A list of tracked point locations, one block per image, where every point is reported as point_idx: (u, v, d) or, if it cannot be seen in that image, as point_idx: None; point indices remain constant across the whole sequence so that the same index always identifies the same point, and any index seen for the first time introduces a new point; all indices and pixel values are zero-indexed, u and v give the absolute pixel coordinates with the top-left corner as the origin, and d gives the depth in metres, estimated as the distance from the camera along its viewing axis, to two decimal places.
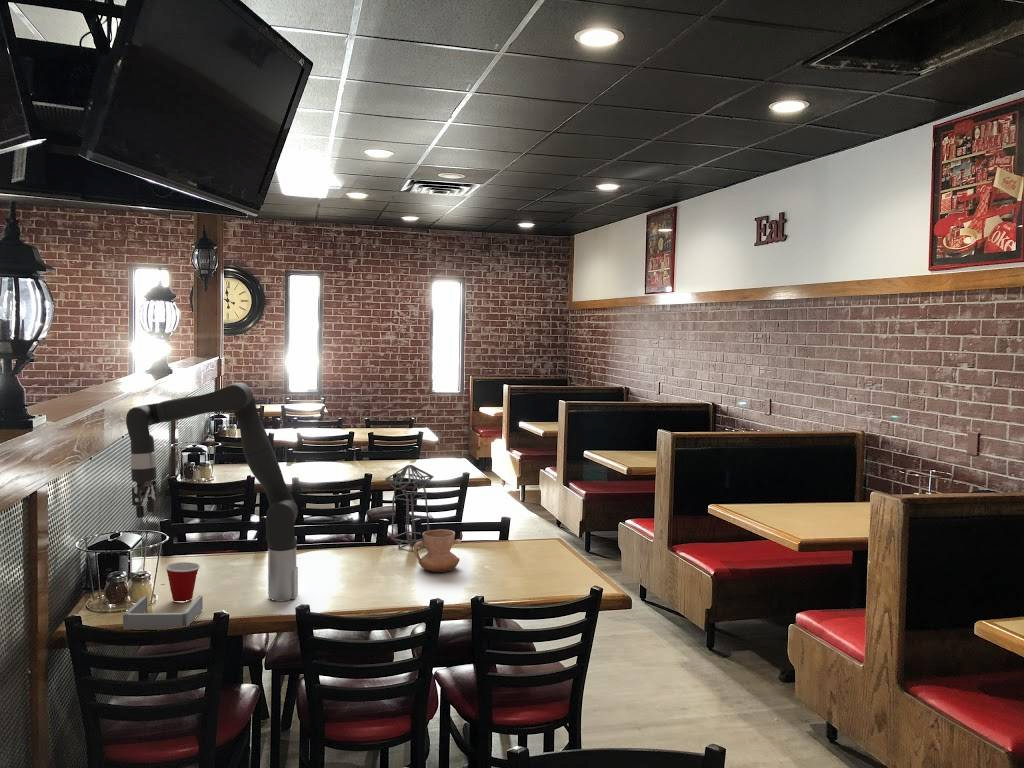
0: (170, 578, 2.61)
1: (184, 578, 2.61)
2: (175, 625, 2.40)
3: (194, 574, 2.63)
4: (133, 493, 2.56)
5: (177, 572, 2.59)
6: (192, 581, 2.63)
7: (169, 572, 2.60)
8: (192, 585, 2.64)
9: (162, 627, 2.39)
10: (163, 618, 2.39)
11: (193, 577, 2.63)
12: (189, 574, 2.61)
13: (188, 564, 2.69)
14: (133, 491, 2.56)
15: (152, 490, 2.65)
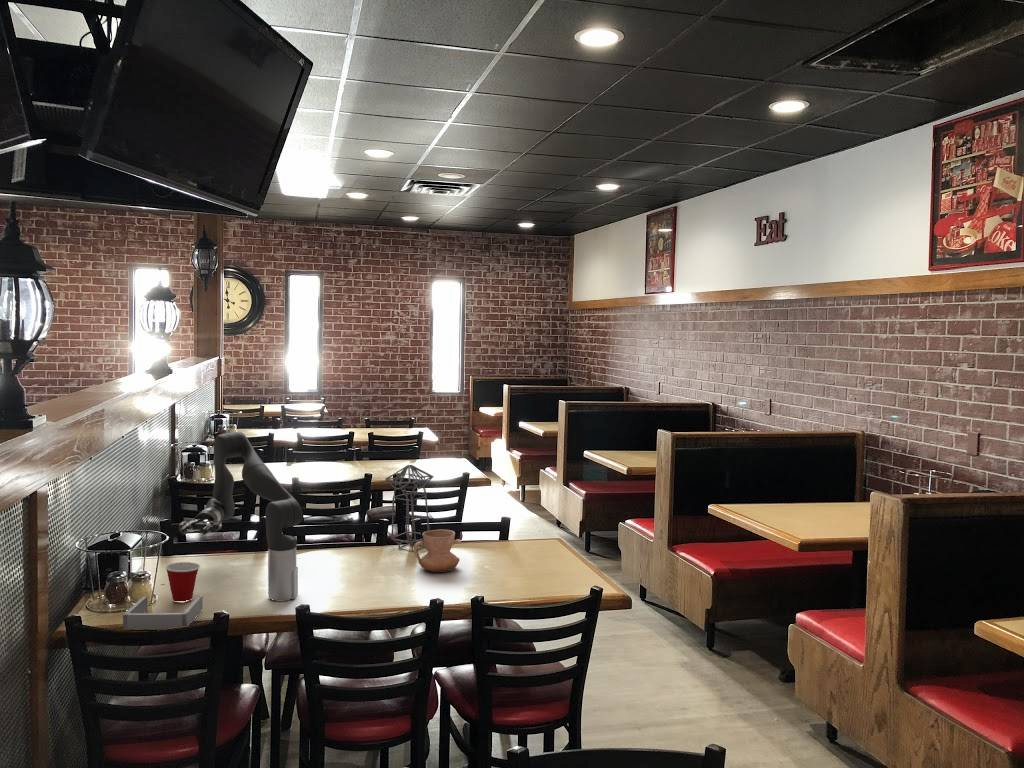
0: (170, 578, 2.61)
1: (184, 578, 2.61)
2: (175, 625, 2.40)
3: (194, 574, 2.63)
4: None
5: (177, 572, 2.59)
6: (192, 581, 2.63)
7: (169, 572, 2.60)
8: (192, 585, 2.64)
9: (162, 627, 2.39)
10: (163, 618, 2.39)
11: (193, 577, 2.63)
12: (189, 574, 2.61)
13: (188, 564, 2.69)
14: None
15: (205, 521, 2.83)
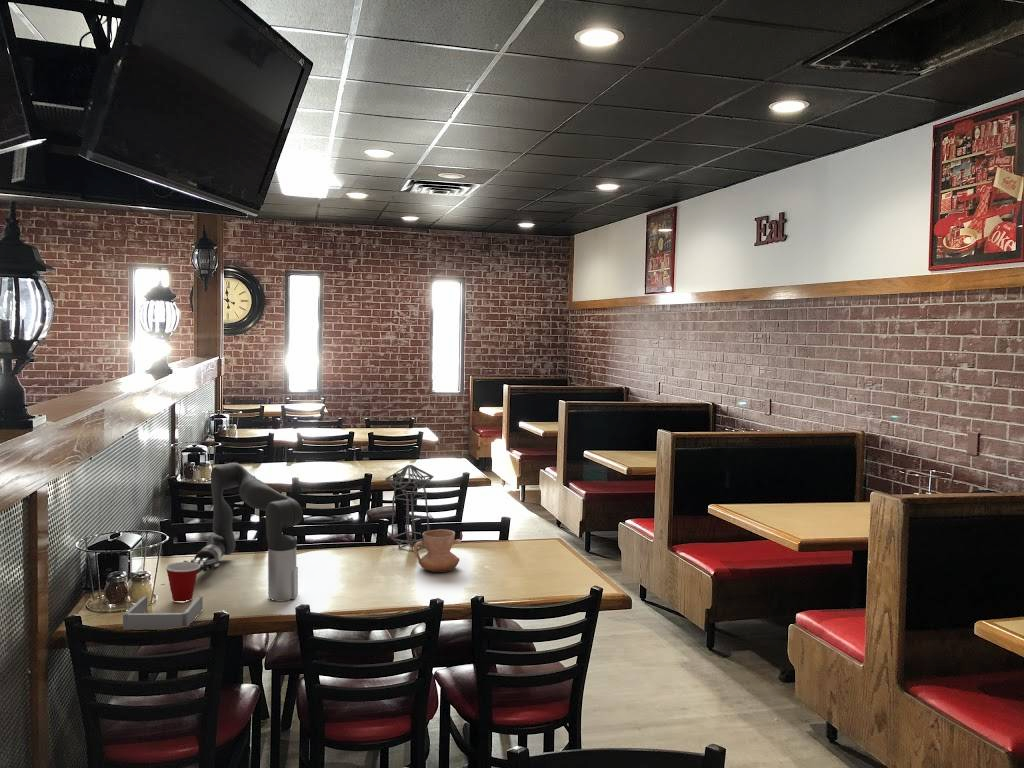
0: (170, 578, 2.61)
1: (184, 578, 2.61)
2: (175, 625, 2.40)
3: (194, 574, 2.63)
4: None
5: (177, 572, 2.59)
6: (192, 581, 2.63)
7: (169, 572, 2.60)
8: (192, 585, 2.64)
9: (162, 627, 2.39)
10: (163, 618, 2.39)
11: (193, 577, 2.63)
12: (189, 574, 2.61)
13: (188, 564, 2.69)
14: None
15: (203, 559, 2.84)
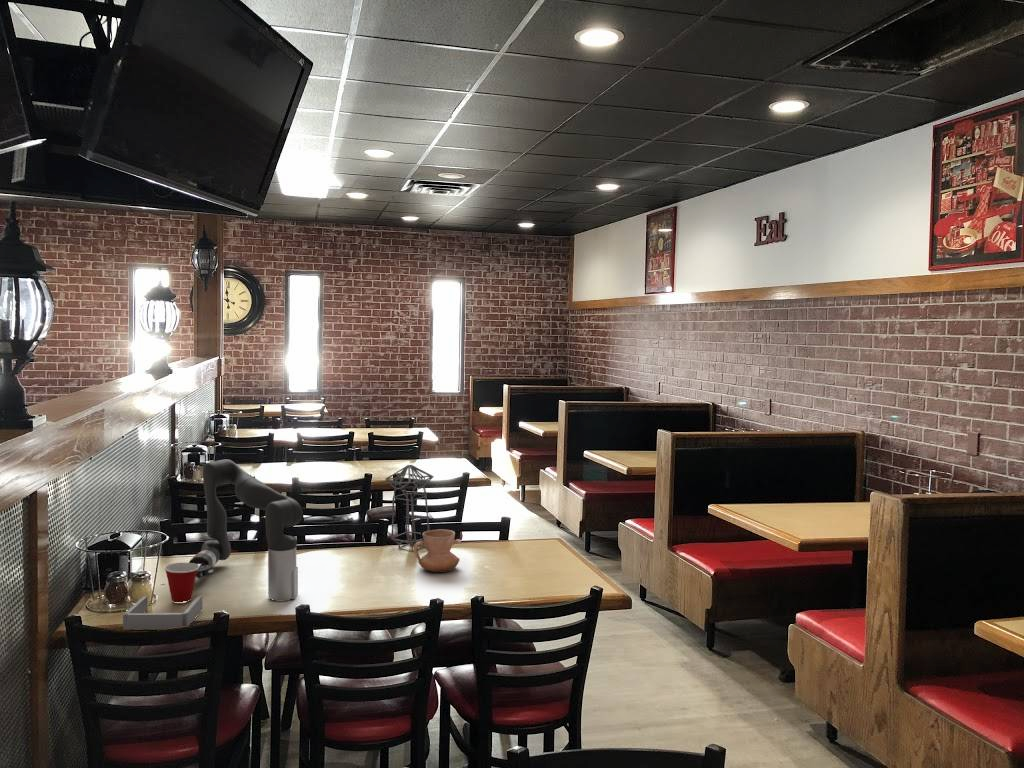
0: (169, 579, 2.60)
1: (183, 579, 2.60)
2: (175, 625, 2.40)
3: (193, 575, 2.62)
4: None
5: (176, 573, 2.58)
6: (191, 582, 2.62)
7: (168, 573, 2.59)
8: (191, 586, 2.63)
9: (162, 627, 2.39)
10: (163, 618, 2.39)
11: (192, 578, 2.62)
12: (188, 575, 2.60)
13: (187, 564, 2.68)
14: None
15: None
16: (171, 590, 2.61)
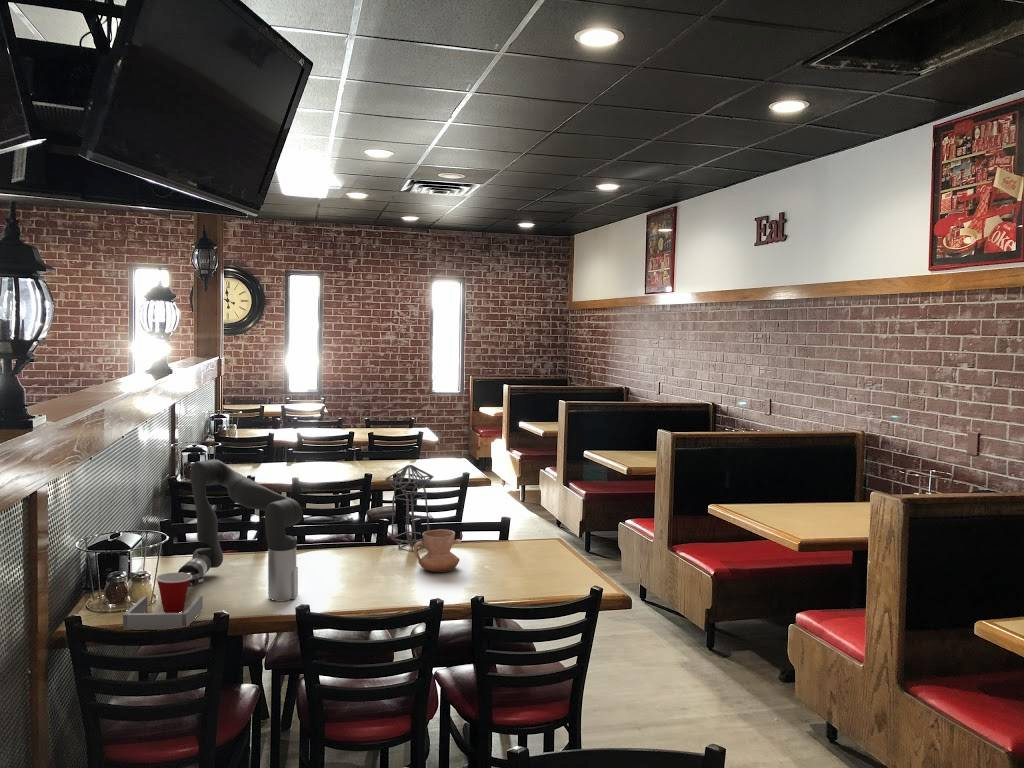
0: (163, 590, 2.49)
1: (179, 589, 2.50)
2: (175, 625, 2.40)
3: (188, 584, 2.54)
4: None
5: (173, 583, 2.49)
6: (186, 591, 2.53)
7: (163, 584, 2.49)
8: (185, 595, 2.54)
9: (162, 627, 2.39)
10: (163, 618, 2.39)
11: (187, 587, 2.53)
12: (184, 584, 2.51)
13: (175, 574, 2.58)
14: None
15: None
16: (165, 602, 2.50)
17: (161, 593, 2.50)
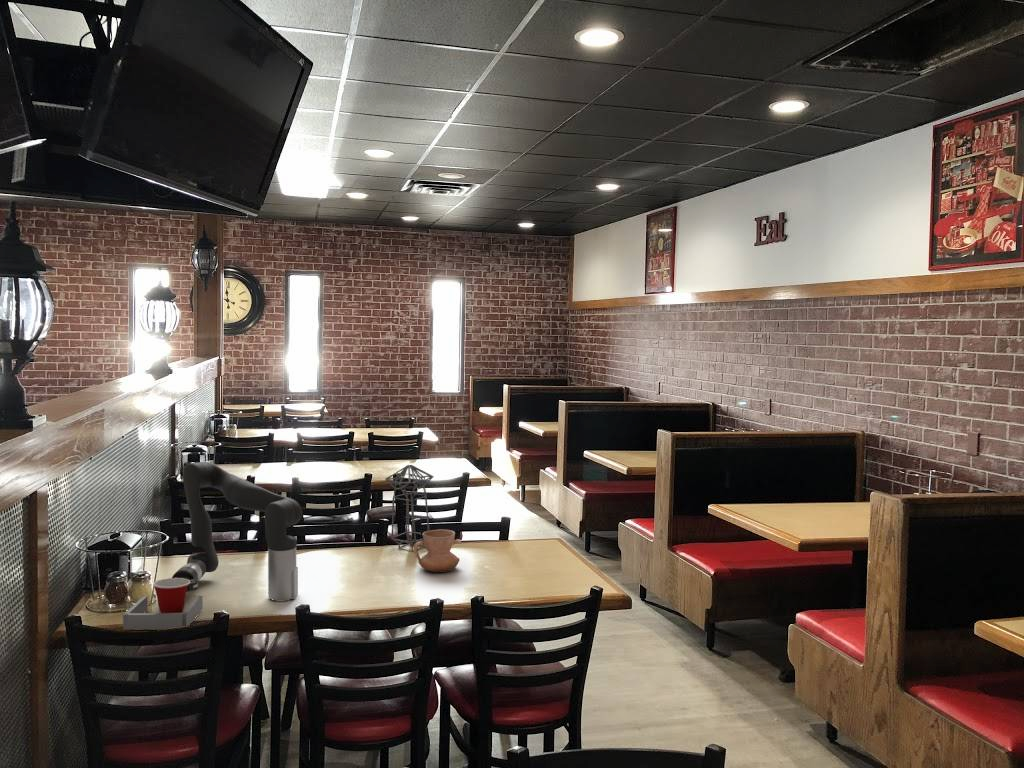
0: (165, 596, 2.44)
1: (181, 594, 2.46)
2: (175, 625, 2.40)
3: None
4: None
5: (175, 588, 2.44)
6: (185, 596, 2.49)
7: (164, 590, 2.43)
8: (184, 600, 2.50)
9: (162, 627, 2.39)
10: (163, 618, 2.39)
11: (186, 591, 2.50)
12: (185, 588, 2.48)
13: (168, 580, 2.52)
14: None
15: None
16: (165, 608, 2.45)
17: (161, 600, 2.45)
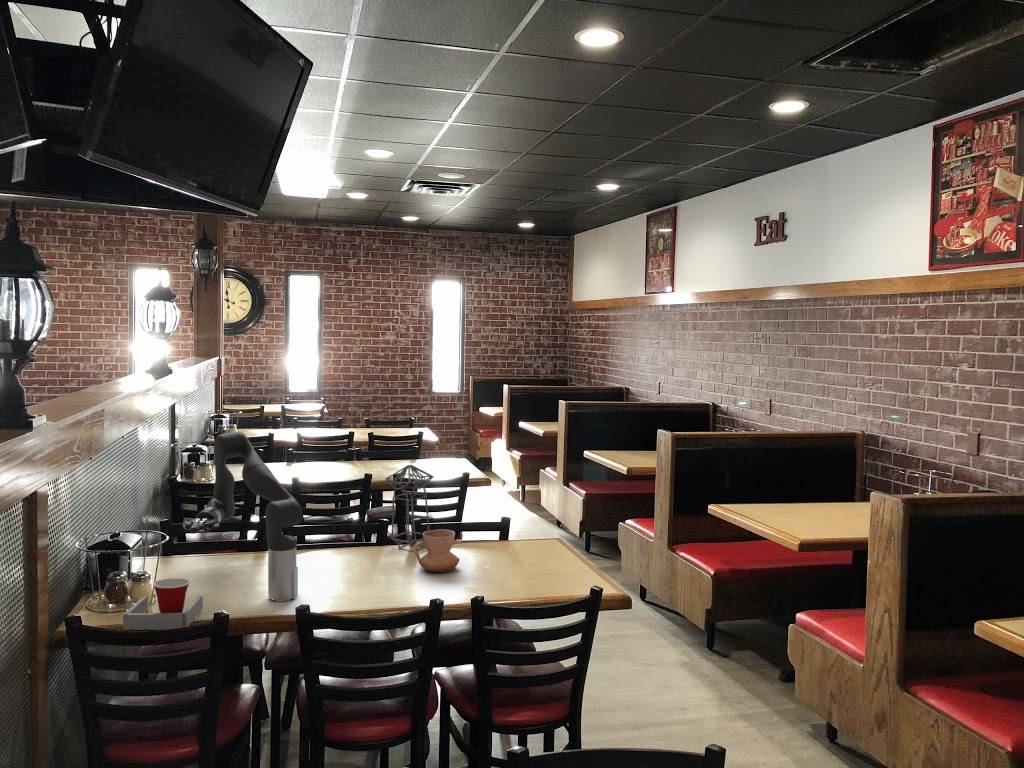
0: (165, 596, 2.44)
1: (181, 594, 2.46)
2: (175, 625, 2.40)
3: None
4: (184, 528, 2.81)
5: (175, 588, 2.44)
6: (185, 595, 2.49)
7: (164, 590, 2.43)
8: (184, 600, 2.50)
9: (162, 627, 2.39)
10: (163, 618, 2.39)
11: None
12: (185, 588, 2.48)
13: (168, 580, 2.52)
14: (184, 527, 2.82)
15: (203, 519, 2.83)
16: (165, 608, 2.45)
17: (161, 600, 2.45)
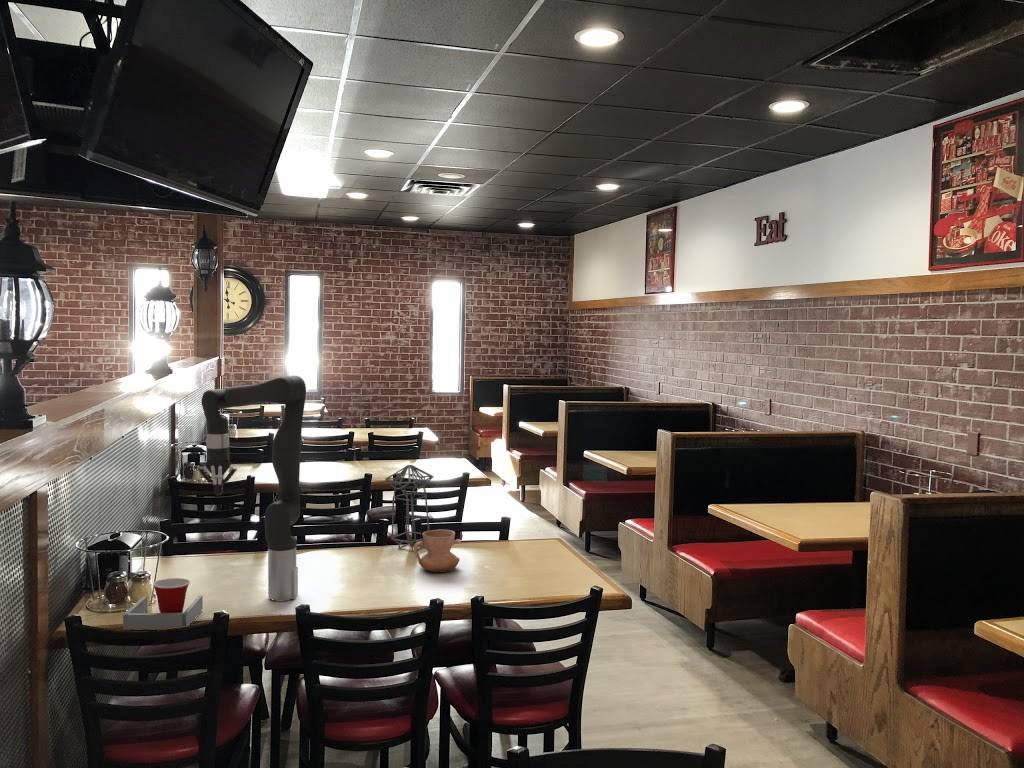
0: (165, 596, 2.44)
1: (181, 594, 2.46)
2: (175, 625, 2.40)
3: None
4: None
5: (175, 588, 2.44)
6: (185, 595, 2.49)
7: (164, 590, 2.43)
8: (184, 600, 2.50)
9: (162, 627, 2.39)
10: (163, 618, 2.39)
11: None
12: (185, 588, 2.48)
13: (168, 580, 2.52)
14: None
15: (219, 471, 2.78)
16: (165, 608, 2.45)
17: (161, 600, 2.45)
